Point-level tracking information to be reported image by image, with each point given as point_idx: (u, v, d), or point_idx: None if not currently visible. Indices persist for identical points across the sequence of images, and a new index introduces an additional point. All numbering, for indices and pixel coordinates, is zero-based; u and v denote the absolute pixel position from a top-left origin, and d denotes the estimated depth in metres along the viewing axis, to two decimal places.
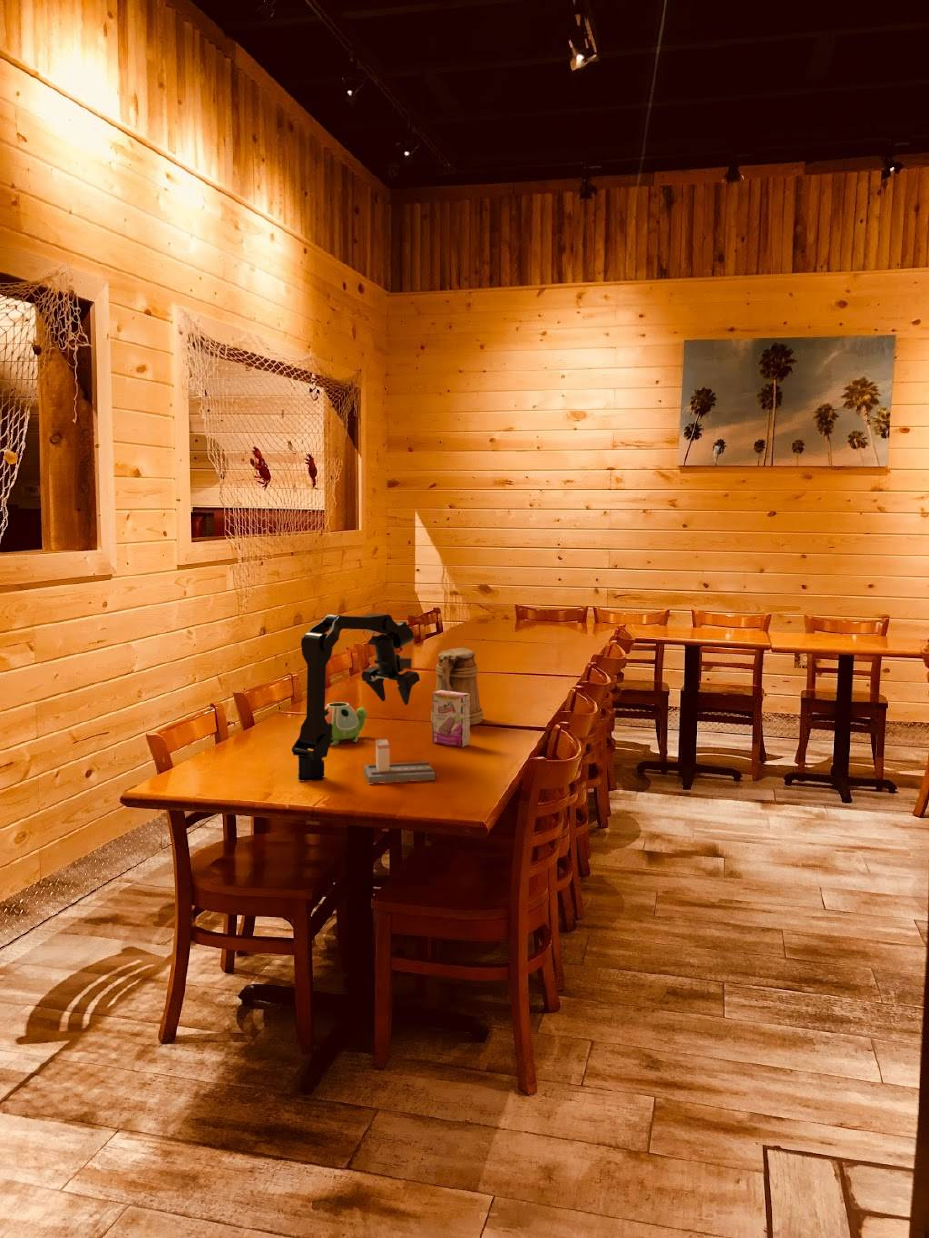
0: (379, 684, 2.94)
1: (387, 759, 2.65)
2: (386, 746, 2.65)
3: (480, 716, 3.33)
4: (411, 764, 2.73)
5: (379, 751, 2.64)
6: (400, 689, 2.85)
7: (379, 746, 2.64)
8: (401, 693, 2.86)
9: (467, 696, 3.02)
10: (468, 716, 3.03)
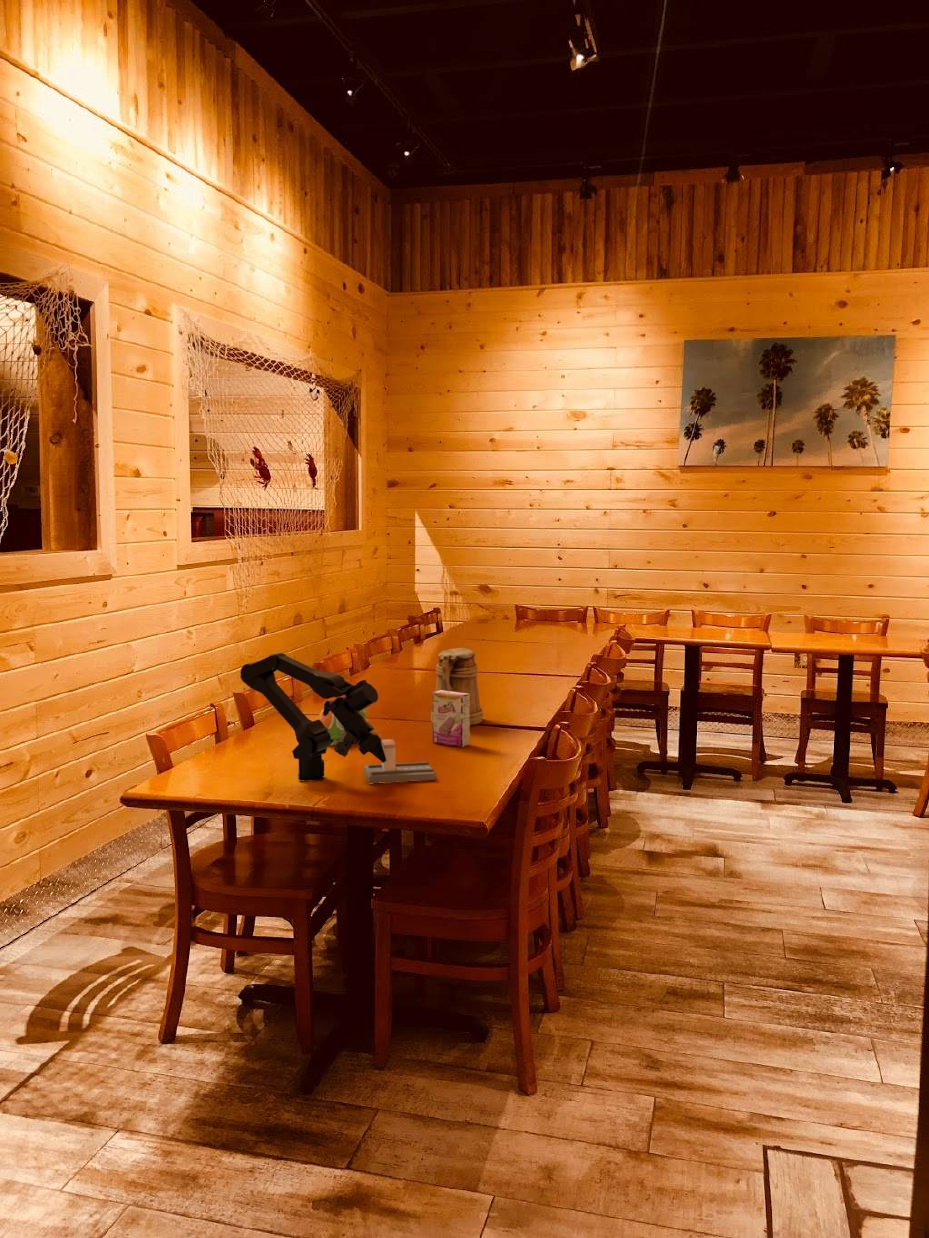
0: None
1: (393, 759, 2.65)
2: (392, 746, 2.65)
3: (480, 716, 3.33)
4: (411, 764, 2.73)
5: (385, 751, 2.65)
6: None
7: (385, 746, 2.64)
8: None
9: (467, 696, 3.02)
10: (468, 716, 3.03)
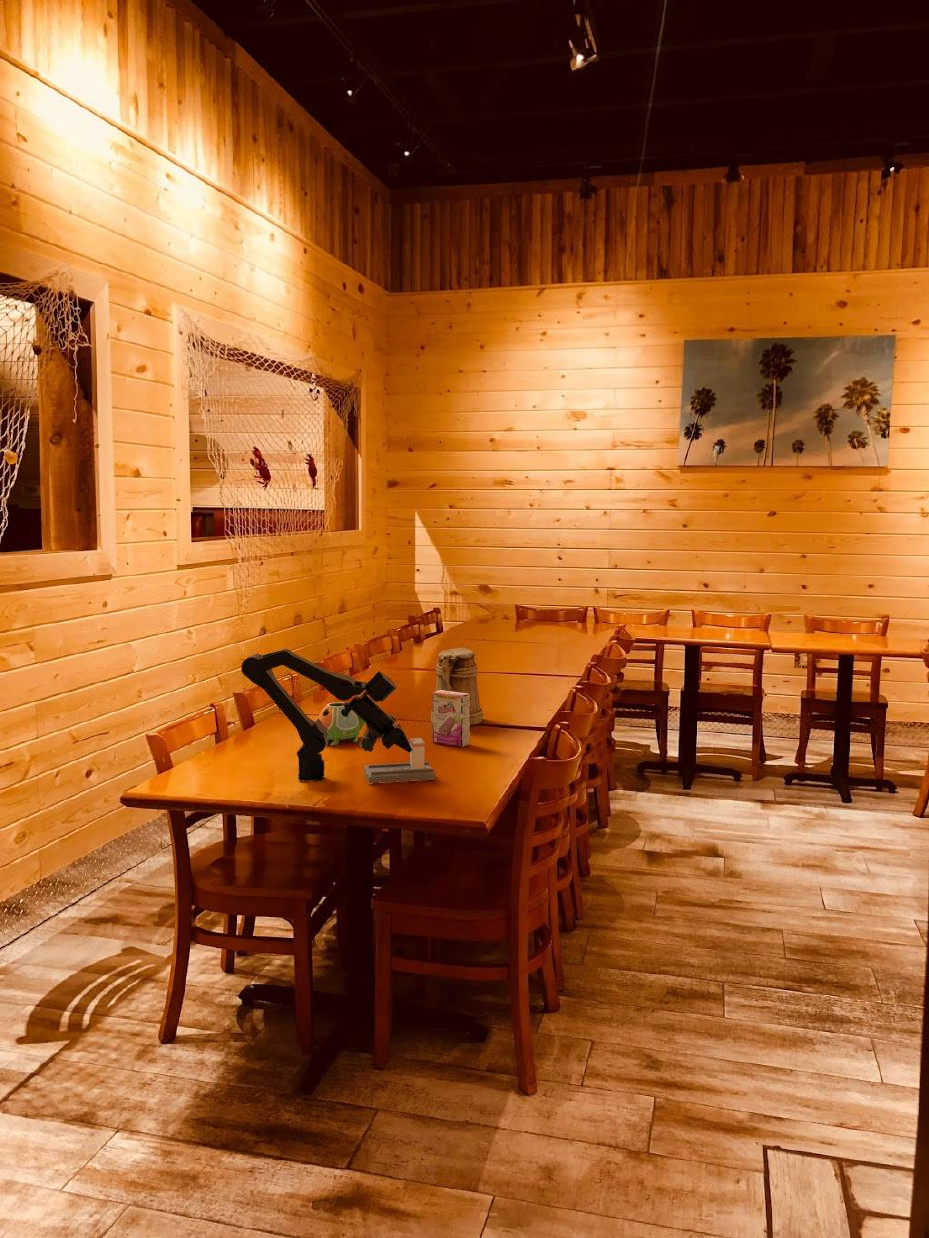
0: None
1: (422, 757, 2.67)
2: (421, 744, 2.66)
3: (480, 716, 3.33)
4: None
5: (414, 749, 2.66)
6: None
7: (414, 744, 2.66)
8: None
9: (467, 696, 3.02)
10: (468, 716, 3.03)
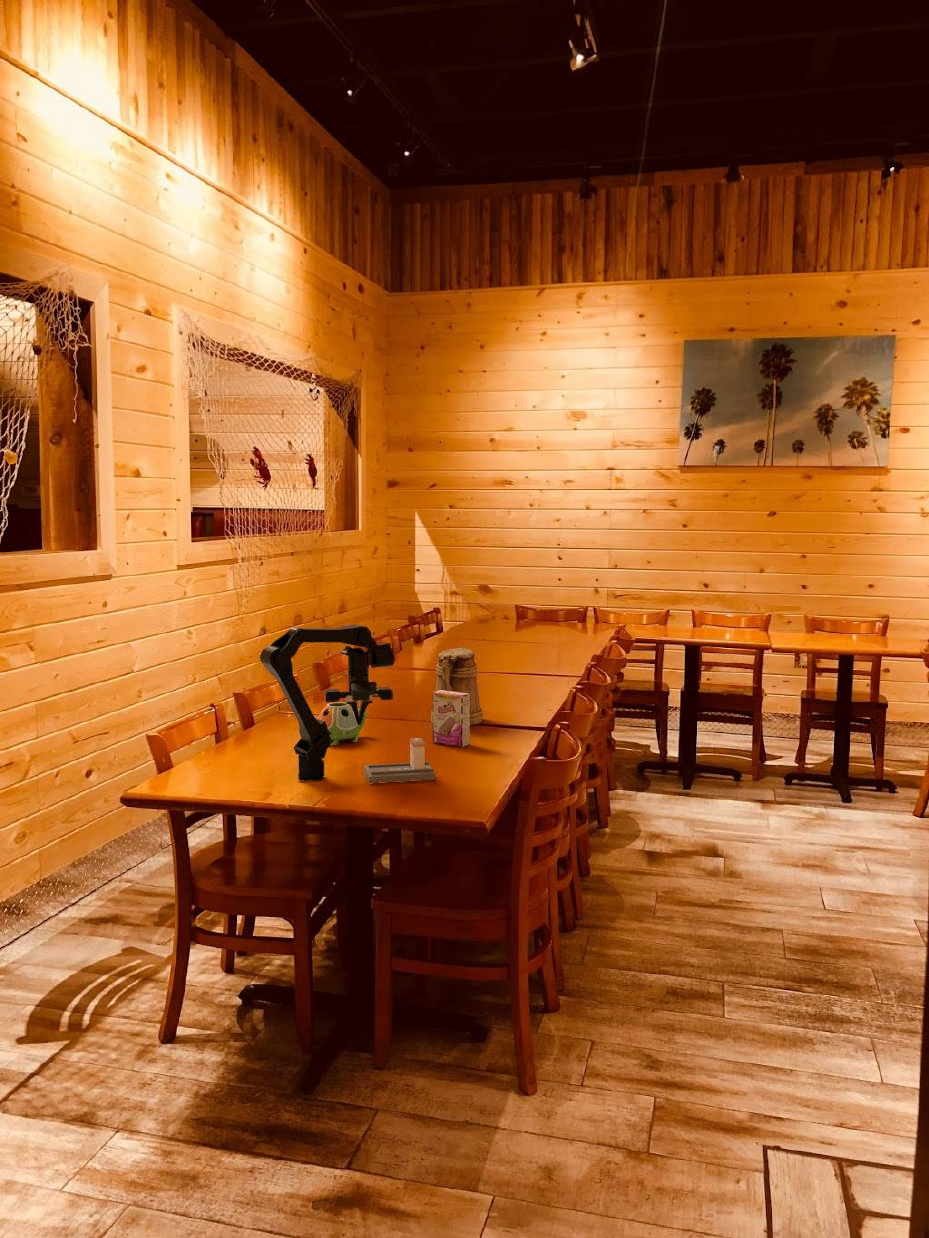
0: (360, 705, 2.74)
1: (422, 757, 2.67)
2: (421, 744, 2.66)
3: (480, 716, 3.33)
4: None
5: (414, 749, 2.66)
6: None
7: (414, 744, 2.66)
8: None
9: (467, 696, 3.02)
10: (468, 716, 3.03)
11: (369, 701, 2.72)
